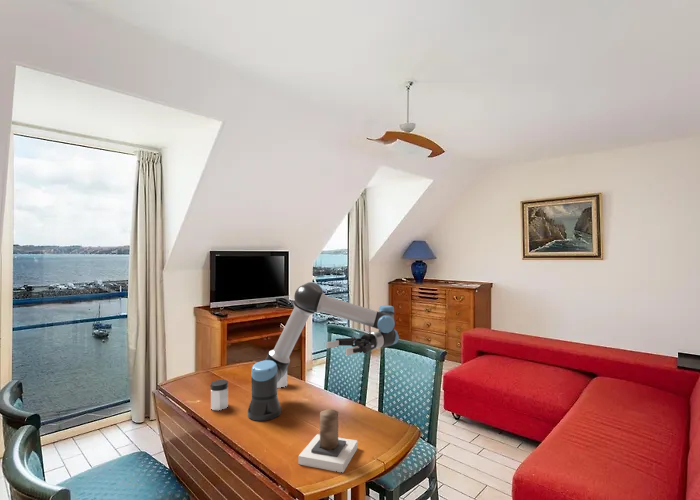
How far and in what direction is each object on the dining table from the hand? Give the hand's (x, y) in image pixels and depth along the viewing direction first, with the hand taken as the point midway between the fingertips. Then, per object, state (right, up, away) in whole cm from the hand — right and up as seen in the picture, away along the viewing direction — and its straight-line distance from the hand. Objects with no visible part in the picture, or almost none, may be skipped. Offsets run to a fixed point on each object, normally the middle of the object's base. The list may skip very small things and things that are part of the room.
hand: (336, 348), depth 167 cm
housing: (-2, -34, -24) cm, 41 cm away
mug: (-35, -34, +49) cm, 69 cm away
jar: (-58, -34, +20) cm, 70 cm away
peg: (-2, -34, -24) cm, 41 cm away
